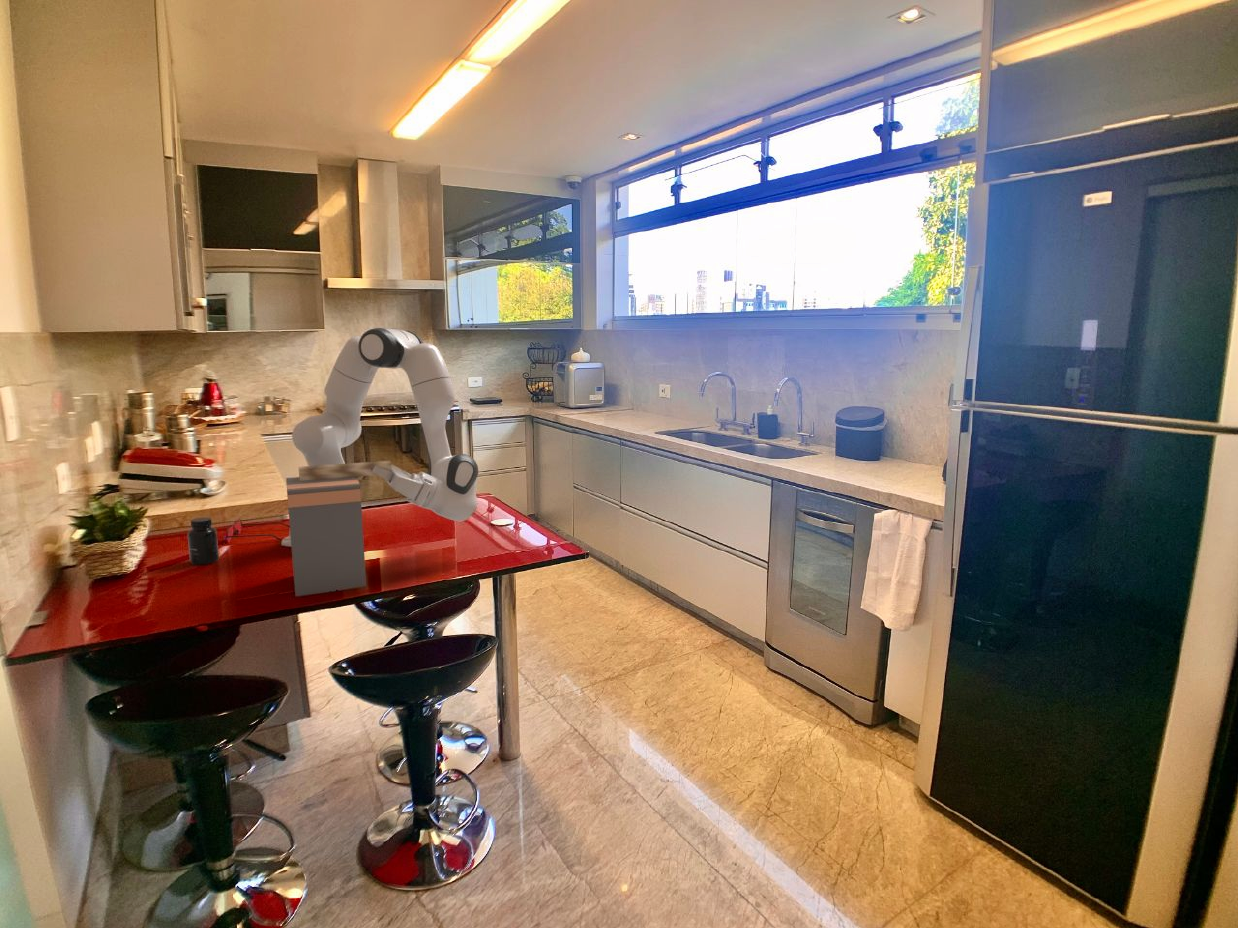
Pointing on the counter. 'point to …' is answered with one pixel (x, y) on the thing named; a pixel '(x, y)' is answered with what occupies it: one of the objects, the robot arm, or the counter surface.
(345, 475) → the maple bar
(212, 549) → the supplement bottle
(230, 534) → the glasses
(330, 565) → the stand
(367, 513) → the counter surface
